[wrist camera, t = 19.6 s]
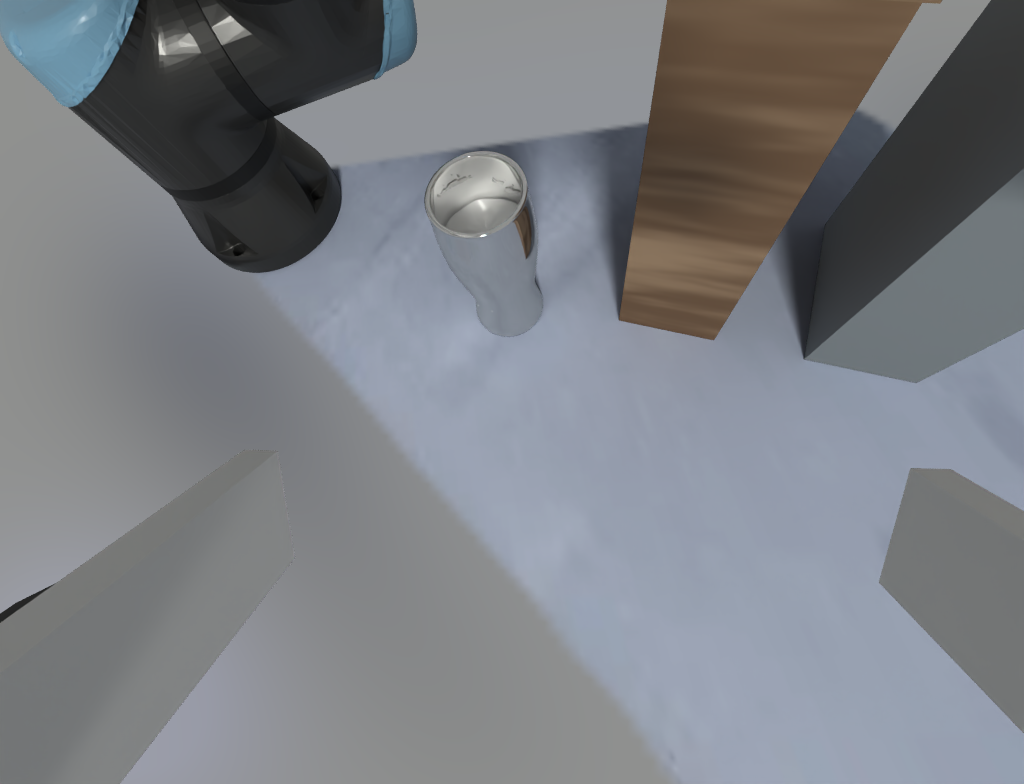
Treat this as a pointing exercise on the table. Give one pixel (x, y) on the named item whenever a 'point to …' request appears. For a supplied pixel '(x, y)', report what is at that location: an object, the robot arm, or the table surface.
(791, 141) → the block
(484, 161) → the beer glass
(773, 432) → the table surface
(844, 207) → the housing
